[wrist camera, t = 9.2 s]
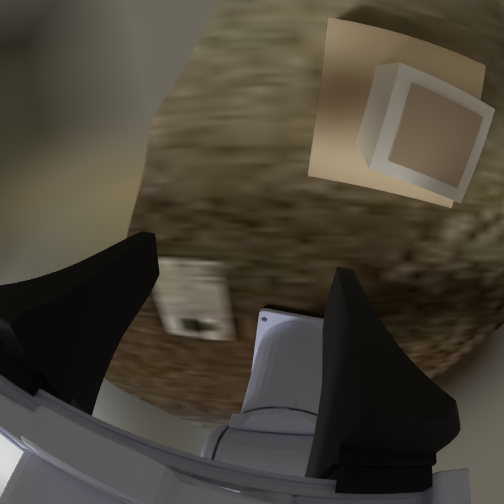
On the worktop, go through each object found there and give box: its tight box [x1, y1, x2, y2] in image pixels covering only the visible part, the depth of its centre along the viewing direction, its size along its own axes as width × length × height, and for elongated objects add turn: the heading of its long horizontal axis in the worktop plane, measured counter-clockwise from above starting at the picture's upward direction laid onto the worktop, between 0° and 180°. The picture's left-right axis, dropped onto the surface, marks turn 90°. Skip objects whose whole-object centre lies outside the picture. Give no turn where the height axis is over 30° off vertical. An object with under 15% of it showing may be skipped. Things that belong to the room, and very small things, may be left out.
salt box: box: [356, 62, 495, 204], centre depth 12 cm, size 4×4×5 cm
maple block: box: [308, 17, 486, 208], centre depth 15 cm, size 9×9×3 cm
